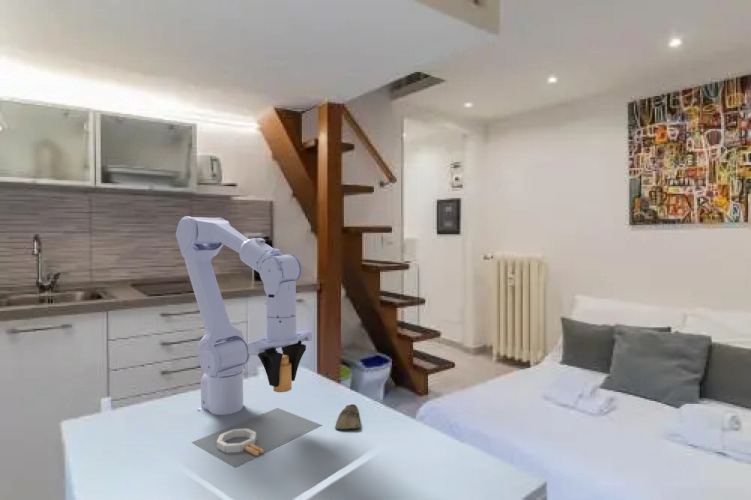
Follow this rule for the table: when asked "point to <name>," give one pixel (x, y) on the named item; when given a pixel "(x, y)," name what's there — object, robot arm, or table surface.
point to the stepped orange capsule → (284, 376)
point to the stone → (348, 418)
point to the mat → (255, 436)
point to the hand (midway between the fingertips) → (282, 382)
